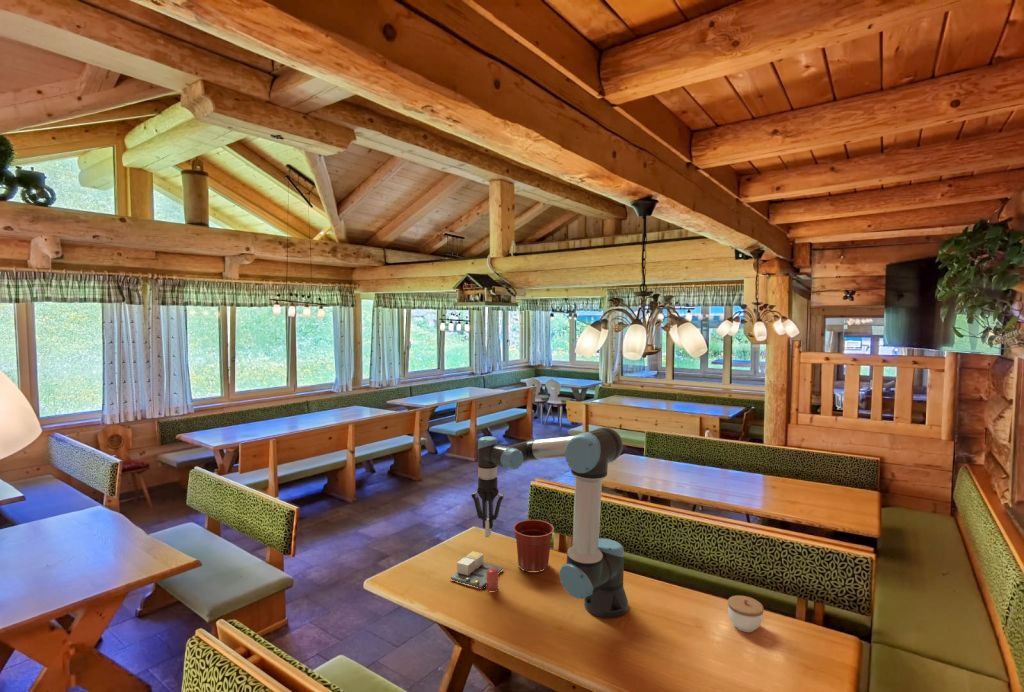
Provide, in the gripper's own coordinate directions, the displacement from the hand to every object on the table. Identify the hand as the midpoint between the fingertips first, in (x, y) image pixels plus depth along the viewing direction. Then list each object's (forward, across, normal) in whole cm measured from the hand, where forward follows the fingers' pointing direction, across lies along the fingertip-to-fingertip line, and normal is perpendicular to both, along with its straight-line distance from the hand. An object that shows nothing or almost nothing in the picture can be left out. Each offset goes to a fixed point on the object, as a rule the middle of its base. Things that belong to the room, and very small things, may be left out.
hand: (488, 535), depth 203 cm
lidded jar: (+17, -91, +13) cm, 94 cm away
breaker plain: (+14, +8, +3) cm, 16 cm away
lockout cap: (+16, -4, +10) cm, 19 cm away
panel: (+16, +4, +2) cm, 16 cm away
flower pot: (+16, -16, -11) cm, 25 cm away
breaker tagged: (+14, +6, -3) cm, 16 cm away
